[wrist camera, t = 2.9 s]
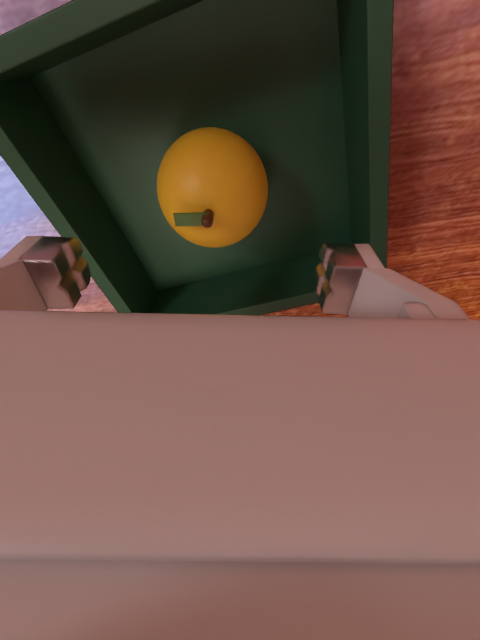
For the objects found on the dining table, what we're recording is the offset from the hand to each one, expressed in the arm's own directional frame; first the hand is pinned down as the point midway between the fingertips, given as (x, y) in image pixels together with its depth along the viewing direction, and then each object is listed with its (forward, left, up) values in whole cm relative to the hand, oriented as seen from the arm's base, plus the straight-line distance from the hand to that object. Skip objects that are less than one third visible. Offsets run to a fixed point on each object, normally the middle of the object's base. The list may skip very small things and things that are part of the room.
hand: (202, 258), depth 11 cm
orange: (0, 0, -10) cm, 10 cm away
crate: (0, 0, -11) cm, 11 cm away
